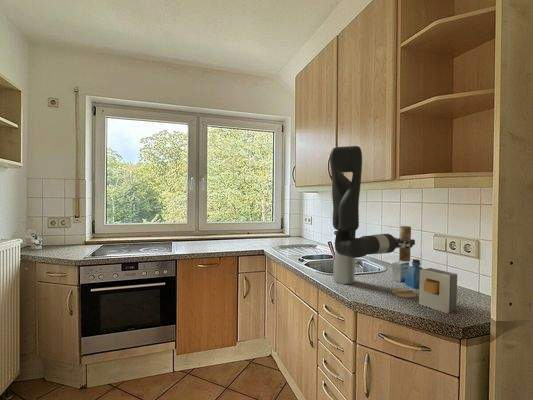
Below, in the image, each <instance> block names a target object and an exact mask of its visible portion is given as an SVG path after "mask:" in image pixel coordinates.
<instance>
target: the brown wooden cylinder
mask: <svg viewBox="0 0 533 400" xmlns="http://www.w3.org/2000/svg"><path fill="white" fill-rule="evenodd" d="M399 228H400V229H399V238H400V239H405V240H407V239H409V240H411V239H412V238H411V237H412V226H407V225H401V226H400V227H399ZM401 241H402V240H401ZM411 249H412V247H411V248H408V249H406V248H405V247H404V248H399V259H398V260H399V261H406V262H409V263H410V261H411Z"/></svg>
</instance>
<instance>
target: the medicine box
mask: <svg viewBox="0 0 533 400" xmlns="http://www.w3.org/2000/svg"><path fill="white" fill-rule="evenodd" d="M409 266H410V261H409V262H406V261H400V260H399V261H394V262H392V264H391V268H392V269H391V272H392V273H391V280H392V281H394V282H399V283H402V282H405V271H406V270H407V269H408V267H409Z"/></svg>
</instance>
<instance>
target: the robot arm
mask: <svg viewBox="0 0 533 400" xmlns="http://www.w3.org/2000/svg"><path fill="white" fill-rule="evenodd" d="M329 165H330V175H331V184H332V185H331V197H332V198H331V199H332V206H333V207H332V226H333V228H334V230H336V234H335V238H334V250H335V251H334V260H332V261H333V263H332V264H333V266H332V267H333V270H332V271H333V273H332V280H334V282H335V283H338V284H343V285H352V284H354V283H355V282H356V281H355V280H356V279H355V278H356V277H355V276H356V259H358V258H359V259H360V258H363V257H365V256H367V255H368V256H369V255H383V254H390V253H393V252H394V251H395V250H396V249H400V248H404V247H405V248H406V249H408V248H411V249H412V248H413V247H414V245H416V240H415V239H414V238H413V239H412V238H411V240H409V239H407V240H405V239H400V237H399V238H398V237H395V236H393V235H392V234H391V233H377V234H371V235H362V236H360V237H356V232H357V230H358V229H359V227H360V213H359V212H360V210H359V206H360V205H359V204H360V194H361V183H362V171H363V152H362V148H361V147H360V146H358V145H350V146H349V145H347V146H337V147H333V148H332V149H331V151H330V153H329ZM343 173H352V176H351V177H352V178H351V179H349V178H348V177H347V176H345V175H344V174H343ZM401 240H402V241H401Z"/></svg>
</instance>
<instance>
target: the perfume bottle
mask: <svg viewBox="0 0 533 400" xmlns="http://www.w3.org/2000/svg"><path fill="white" fill-rule="evenodd" d="M421 269H424V268H423V267H421V259H418V258H416V259H415V258H413V259H412V261H411V266H410V265H409V267H408V269H407V270H406V271H405V281H404V283H405V284H404V285H405V286H407V287H410V288H411V289H413V290H415V289H416V290H417V289H419V284H420V270H421Z"/></svg>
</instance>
